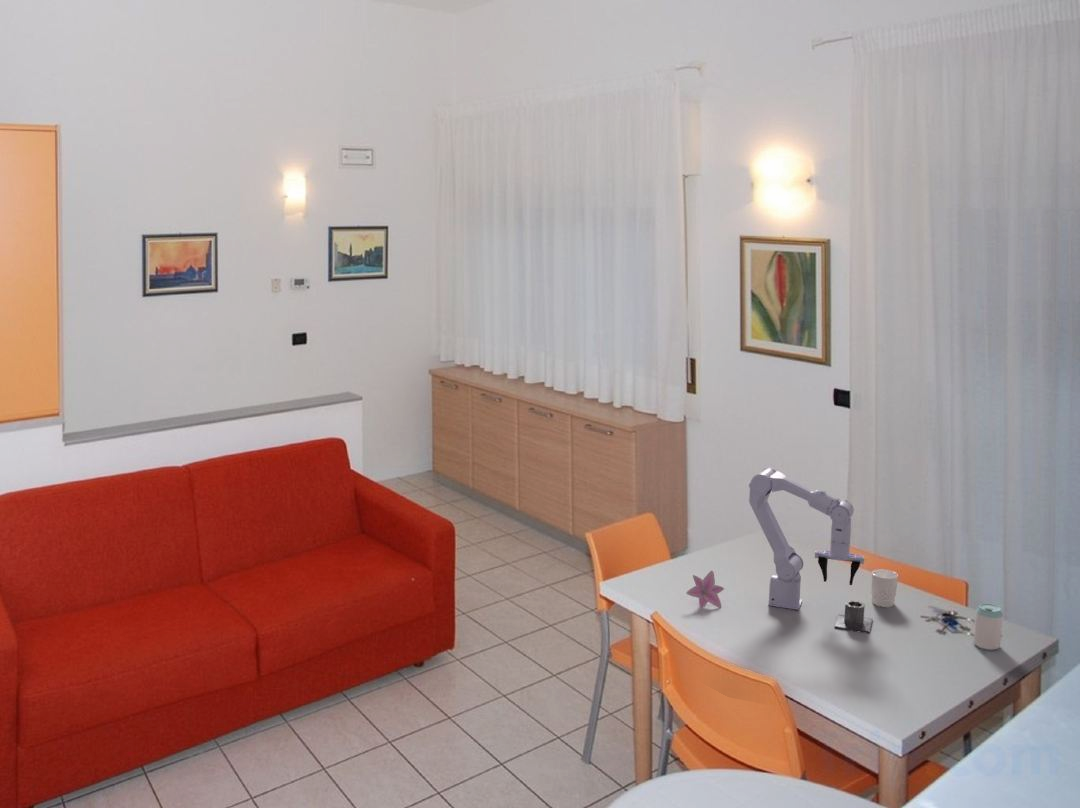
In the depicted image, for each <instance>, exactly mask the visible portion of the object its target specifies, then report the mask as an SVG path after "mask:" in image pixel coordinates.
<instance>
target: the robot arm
mask: <svg viewBox="0 0 1080 808" xmlns="http://www.w3.org/2000/svg"><path fill="white" fill-rule="evenodd" d="M748 487H749V498H748V499H749V500H748V502H749V504H750V505H749V506H750V507H751V510H752V511H753V513H754V515H755V518H756V519H757V521H758V523H759V525H760V527H761V530H762V531H763V533H764V536H765V538H766V539H767V541H768V544H769V546H770V548H771V550H772V552H773V563H774V565H775V573H776V574H771V577H770V581H769V593H768V604H767V605H768V606H771V607H776V608H777V607H778V608H784V609H791V610H797V611H799V610H800V608H801V606H802V603H803V599H802V598H801V597H800V596H801V583H802V581H801V579H802V576H801V574H800V571H801V570H802V569H803V568H804V559H803V558H802V557H801V555H800V554H798V553H797V551H795V548H793V547H792V546H790V545H789V543H788V541H787V538H786V537H785V535H784V532H783V530H782V529H781V526H780V524H779V522H778V519H777V518H776V516H775V513H774V512H773V510H772V507H771V506H770V504H769V502H768V499H769V497H770V494H771V493H774V492H780V491H784V492H787V493H789V494H791V495H794V496H796V497H798V498H800V499H802V500H804V501H807V504H808V506H809V507H810V508H813V509H814V510H816V511H819V512H820V513H822V514H823V515H827V516H829V517H830V519H831V521H832V522H831V527H830V528H831V529H830V531H831V532H830V549H829V550H818V549H816V550H815V551H814V558H815V559H818V560H817V563H818V565H819V568H820V570H821V573H822V576H823V578H822V579H823V582H825V583H826V582H827V580H828V561H829V560H833V561H834V560H835V561H843V562H848V563H849V562H850V563H851V564H850V578H849V586H852V585H853V581H854V578H855V575H856V573H857V572H858V570H859V568H860V566H861V565H864V564H865V555H860V554H856V553H851V551H850V550H851V535H852V534H851V533H852V531H851V530H852V527H851V526H852V519H851V518H852V516H853V514H854V512H855V511H854V510H855V509H854V507H853V505H852V503H850V502H849V501H848V500H847V499H840V498H838V497H837V498H835V497H833V496H832V495H829V494H827V492H826V490H824V489H821V490H819V489H815V490H811V489H809V488H808V487H806V486H804V485H802V484H800V483H799V482H797V481H795V480H794V479H792V478H790V477H788V476H786V475H785V474H784V473H782V472H781V471H778V470H775V469H774V468H772V467H766V468H763V469H762V470H761V471H760V472H759V473H757V474H755V475H754V476H752V479H751V480H750V483H749V484H748Z"/></svg>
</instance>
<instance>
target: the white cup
mask: <svg viewBox="0 0 1080 808" xmlns="http://www.w3.org/2000/svg"><path fill="white" fill-rule="evenodd" d="M898 579H899V574H898V573H897V572H896V571H893V570H891V569H882V568H881V569H879V568H878V569H874V570H872V572H871V603H872V604H873V605H874V604H875V605H874V606H877V607H880V606H881V607H880V608H892V607H893V606H894V605H895V601H896V599H895V598H896V594H897V587H898Z"/></svg>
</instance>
